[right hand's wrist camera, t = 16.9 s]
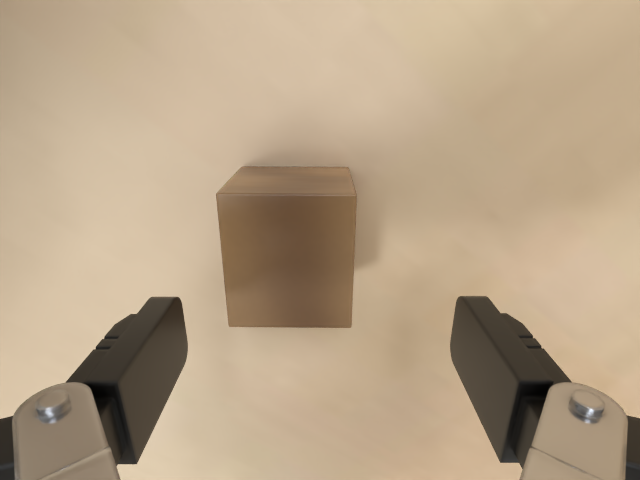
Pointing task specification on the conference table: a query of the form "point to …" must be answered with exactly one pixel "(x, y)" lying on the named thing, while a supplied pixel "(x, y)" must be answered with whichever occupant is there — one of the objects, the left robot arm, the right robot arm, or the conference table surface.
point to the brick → (288, 246)
